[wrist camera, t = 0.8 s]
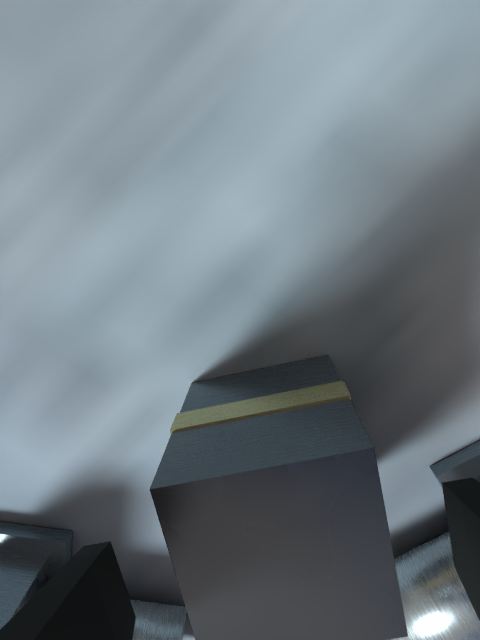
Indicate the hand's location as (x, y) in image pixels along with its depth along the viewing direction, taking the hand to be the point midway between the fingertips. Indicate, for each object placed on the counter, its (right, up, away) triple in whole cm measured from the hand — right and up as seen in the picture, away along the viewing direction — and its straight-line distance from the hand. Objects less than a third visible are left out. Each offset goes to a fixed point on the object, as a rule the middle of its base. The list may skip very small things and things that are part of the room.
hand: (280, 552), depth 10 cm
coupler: (0, +1, +6) cm, 6 cm away
